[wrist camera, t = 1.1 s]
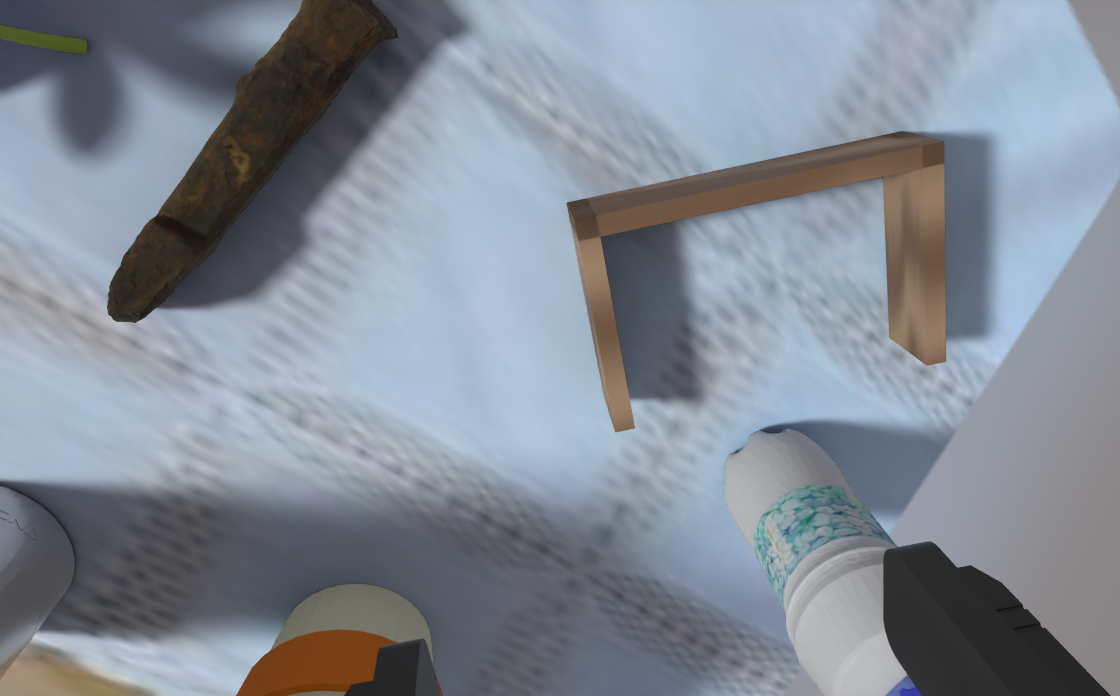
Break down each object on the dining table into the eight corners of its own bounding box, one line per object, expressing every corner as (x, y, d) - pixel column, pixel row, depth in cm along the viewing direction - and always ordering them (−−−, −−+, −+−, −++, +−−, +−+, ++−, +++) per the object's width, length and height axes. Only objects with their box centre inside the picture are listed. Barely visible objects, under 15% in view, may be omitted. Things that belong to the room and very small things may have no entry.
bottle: (692, 499, 46) (828, 810, 28) (739, 400, 44) (921, 665, 26) (792, 527, 48) (986, 842, 29) (843, 433, 45) (1088, 706, 27)
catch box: (907, 333, 43) (946, 361, 40) (604, 398, 43) (615, 432, 40) (901, 131, 39) (943, 141, 36) (566, 202, 39) (574, 219, 36)
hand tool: (334, -39, 35) (312, -50, 30) (405, 29, 36) (393, 28, 32) (90, 267, 39) (40, 296, 35) (161, 319, 40) (121, 354, 36)
